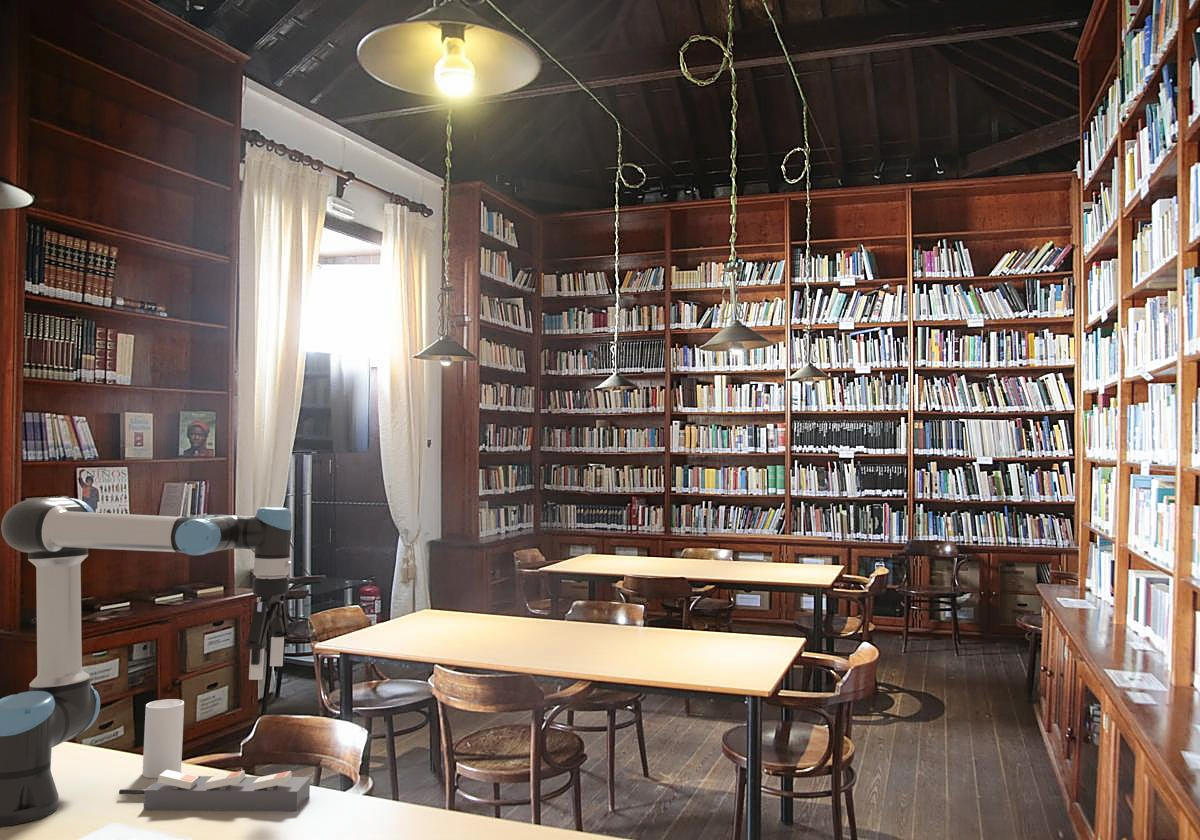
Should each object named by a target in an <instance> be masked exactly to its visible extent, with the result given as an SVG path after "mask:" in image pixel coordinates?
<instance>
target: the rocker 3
mask: <svg viewBox="0 0 1200 840" xmlns="http://www.w3.org/2000/svg"><path fill="white" fill-rule="evenodd" d="M292 773H293V772H292V770H289V771H283V772H279V773H273V774H268V775H263V776H258V777H259V778H258V779H257V780H255V781H254V782H253V787H254V790H257V789H262V788H267V787H272V786H277V785H282V784H286V783H288V782H289V781H290V780H291V778H292V777H293V774H292Z"/></svg>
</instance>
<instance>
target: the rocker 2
mask: <svg viewBox="0 0 1200 840" xmlns="http://www.w3.org/2000/svg"><path fill="white" fill-rule="evenodd" d="M245 771H246V770H239V771H235V772H230V773H225V774H220V775H213V776H214V777H211V778H210V779H209V780H208V781H207V782H205V785H206V790H207V789H212V788H217V787H222V786H227V785H232V784H237V783H240V782H241V781H242V780H243V779H244V778H245V777H246V772H245Z"/></svg>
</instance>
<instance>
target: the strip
mask: <svg viewBox="0 0 1200 840" xmlns="http://www.w3.org/2000/svg"><path fill="white" fill-rule="evenodd" d="M197 776H198V777H199V778H198V782H197V784H196V785H195V786H194V787H192V788H191V789H185V788H181V787H176V786H172V785H167V784H163V783H159V782H158V780H156V781H155V782H154V783H152V784H151V785H149V786H148V787H147V788H146V789H133V788H132V789H131V788H130V789H123V788H121V789H119V791H118V794H119V795H141V796H143V811H144V810H146V811H147V810H148V811H150V810H151V811H152V810H153V811H243V810H244V812H245V811H248V812H249V811H252V812H253V811H262V812H263V811H265V812H266V811H267V812H268V811H269V812H273V811H274V812H275V811H277V812H278V811H279V812H288V811H289V812H298V810H299V809H300V807H301V806H303V804H304V803H305V802H306V800H307V799H308V798H309V797H310V794H311V793H310V791H311V790H310V789H311V788H310V787H311V777H310V776H292V778H291V780H290V781H289V782H288V783H286V784H282V785H277V786H272V787H267V788H262V789H257V790H254V787H253V782H254V781H255V780H257V779H258V778H259V777H260V776H245V778H244V779H243V780H242V781H241V782H240V783H237V784H232V785H227V786H222V787H217V788H212V789H207V790H206V785H205V782H207V781H208V780H209V779H210V778H211V777H214V776H215V775H212V776H207V775H197Z"/></svg>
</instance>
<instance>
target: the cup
mask: <svg viewBox="0 0 1200 840" xmlns="http://www.w3.org/2000/svg"><path fill="white" fill-rule="evenodd" d="M184 709H185V701H184V700H182V699H175V698H172V699H171V698H169V699H160V700H154V701H150V702H148V703H146V704H145V711H144V713H145V716H144V719H145V720H144V735H143V737H144V738H143V752H142V753H143V757H142V776H143V777H144V776H145V778H148V777H149V778H148V779H158V778H159V775H160V774H162V773H163V772H164V771H166V770H171V771H176V772H180V773H181V772H182V757H183V739H184V738H183V736H184V715H185V714H184V713H185V710H184Z"/></svg>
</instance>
